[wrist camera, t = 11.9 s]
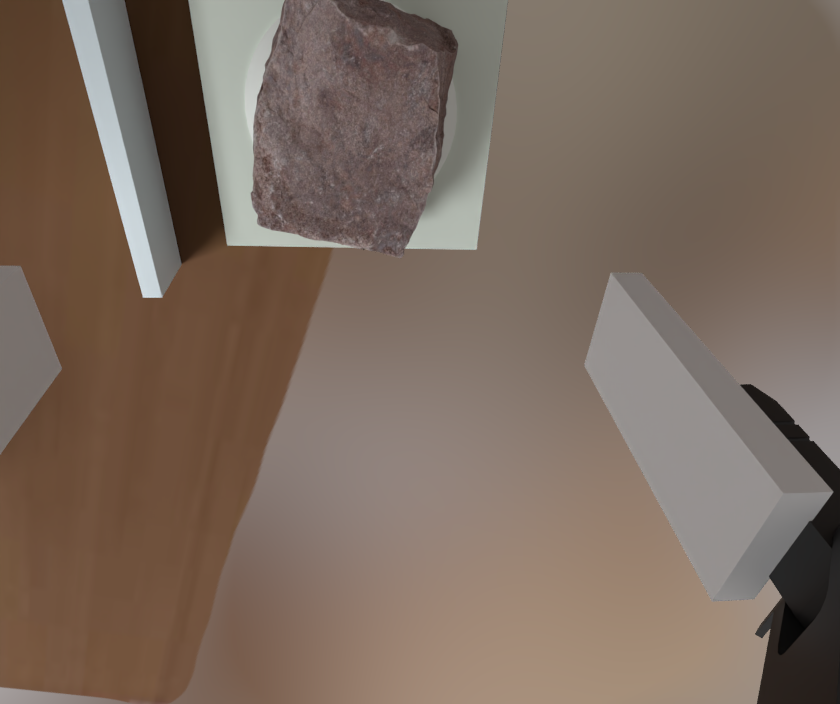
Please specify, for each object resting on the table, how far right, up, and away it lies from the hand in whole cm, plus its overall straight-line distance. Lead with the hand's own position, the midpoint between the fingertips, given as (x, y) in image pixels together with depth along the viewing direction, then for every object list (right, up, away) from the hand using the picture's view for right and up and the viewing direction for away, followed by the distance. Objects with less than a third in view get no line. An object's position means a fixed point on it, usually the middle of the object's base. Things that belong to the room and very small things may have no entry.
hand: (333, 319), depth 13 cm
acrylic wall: (-13, +11, +16) cm, 23 cm away
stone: (-2, +11, +16) cm, 20 cm away
